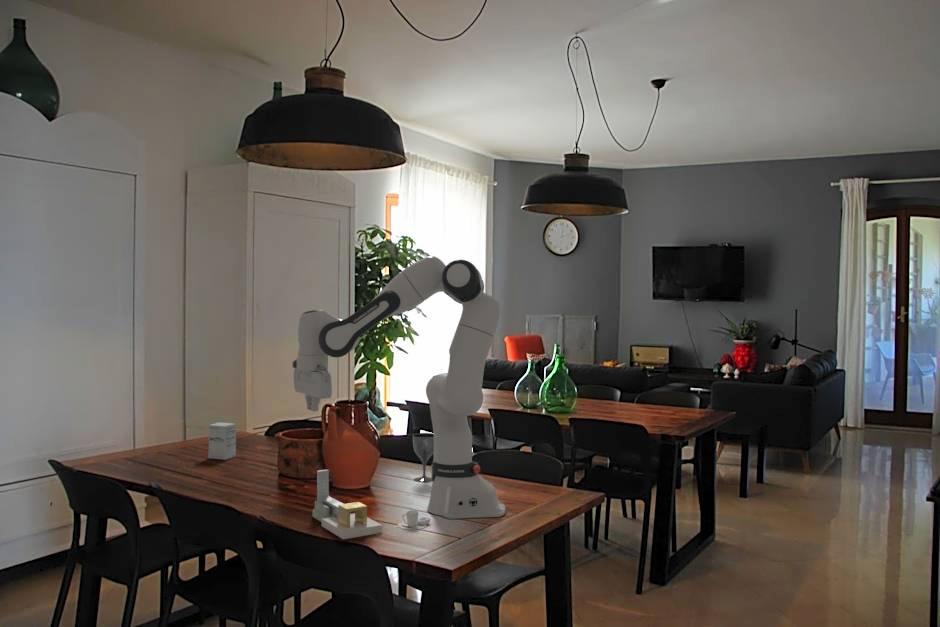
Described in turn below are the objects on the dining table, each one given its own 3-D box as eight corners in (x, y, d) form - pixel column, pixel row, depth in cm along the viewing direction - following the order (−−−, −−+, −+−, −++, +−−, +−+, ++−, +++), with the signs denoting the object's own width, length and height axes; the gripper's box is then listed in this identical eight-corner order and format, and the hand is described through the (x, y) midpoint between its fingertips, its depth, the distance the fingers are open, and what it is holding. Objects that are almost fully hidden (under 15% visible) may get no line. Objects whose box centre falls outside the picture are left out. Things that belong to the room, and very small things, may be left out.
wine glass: (408, 481, 264) (409, 436, 264) (417, 476, 272) (417, 432, 272) (431, 483, 262) (431, 437, 262) (439, 478, 270) (439, 433, 269)
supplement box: (207, 458, 295) (207, 424, 295) (219, 455, 302) (219, 421, 302) (225, 460, 293) (225, 426, 293) (236, 456, 300) (236, 423, 300)
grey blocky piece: (312, 516, 221) (312, 501, 221) (335, 513, 225) (335, 498, 225) (323, 523, 215) (323, 507, 215) (347, 519, 219) (347, 504, 219)
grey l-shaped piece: (316, 506, 224) (317, 470, 223) (326, 504, 225) (327, 469, 225) (340, 519, 211) (340, 481, 211) (350, 517, 213) (350, 480, 213)
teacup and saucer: (430, 522, 219) (430, 507, 219) (429, 531, 211) (430, 516, 211) (398, 522, 218) (398, 507, 218) (396, 531, 210) (396, 516, 210)
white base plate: (321, 526, 213) (321, 518, 213) (358, 519, 219) (358, 512, 219) (343, 539, 201) (343, 531, 201) (382, 532, 208) (382, 524, 208)
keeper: (338, 522, 209) (338, 504, 209) (358, 519, 212) (358, 501, 212) (346, 527, 205) (346, 509, 205) (366, 524, 208) (367, 506, 208)
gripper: (337, 366, 230) (337, 414, 230) (309, 361, 247) (309, 405, 247) (317, 367, 226) (316, 415, 227) (290, 361, 243) (289, 406, 244)
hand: (312, 410), depth 237 cm, fingers closed
